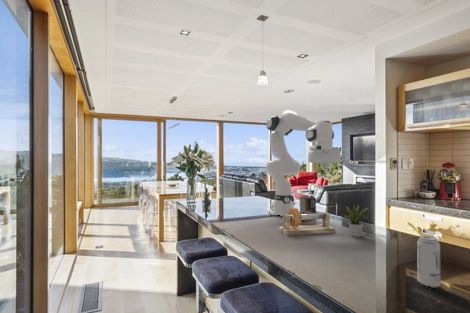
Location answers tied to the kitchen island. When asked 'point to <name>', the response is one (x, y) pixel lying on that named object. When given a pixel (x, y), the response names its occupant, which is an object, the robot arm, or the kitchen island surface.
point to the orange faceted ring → (296, 215)
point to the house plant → (355, 221)
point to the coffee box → (308, 208)
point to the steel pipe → (309, 216)
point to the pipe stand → (306, 227)
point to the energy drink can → (428, 261)
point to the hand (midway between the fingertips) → (324, 170)
